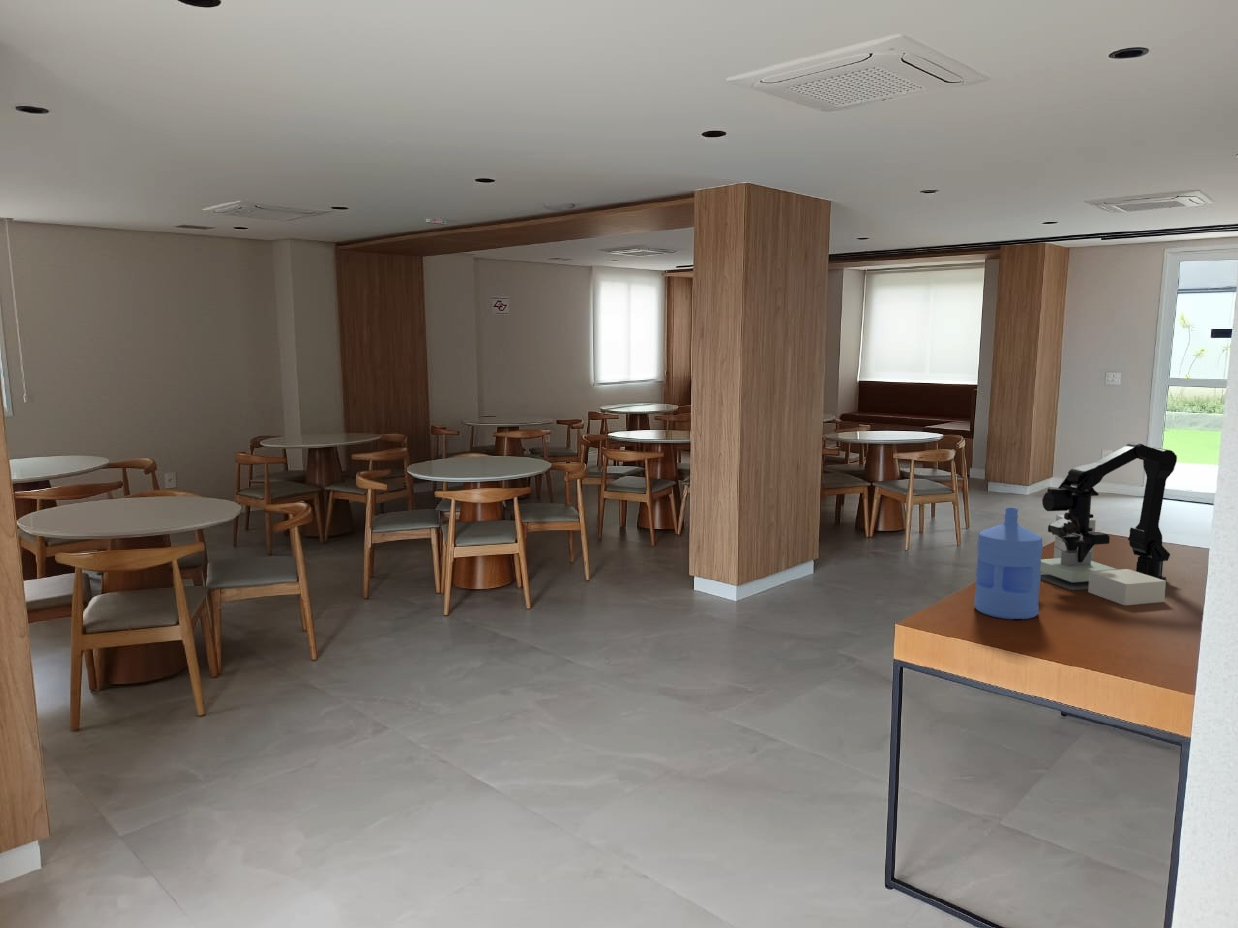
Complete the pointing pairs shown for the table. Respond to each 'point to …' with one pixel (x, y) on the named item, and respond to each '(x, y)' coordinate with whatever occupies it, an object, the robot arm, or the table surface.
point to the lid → (1072, 566)
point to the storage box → (1127, 587)
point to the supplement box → (1061, 544)
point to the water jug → (1008, 570)
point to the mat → (1064, 582)
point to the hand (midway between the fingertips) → (1076, 560)
